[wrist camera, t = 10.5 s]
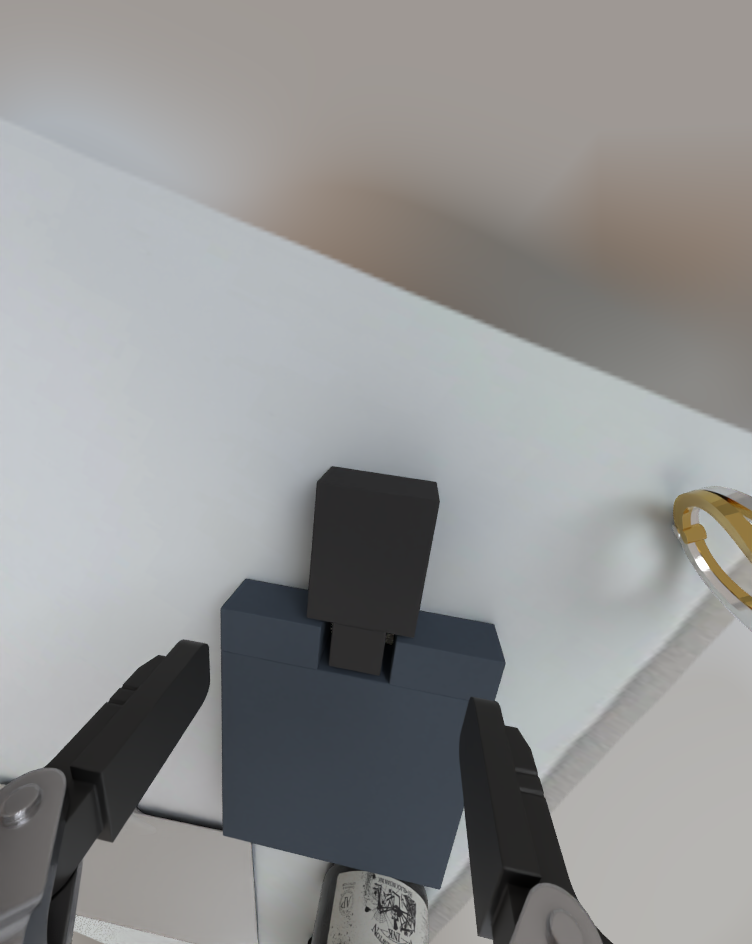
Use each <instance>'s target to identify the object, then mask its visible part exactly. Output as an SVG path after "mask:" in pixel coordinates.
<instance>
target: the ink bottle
mask: <svg viewBox="0 0 752 944" xmlns="http://www.w3.org/2000/svg"><path fill="white" fill-rule="evenodd" d="M311 944H429V934H428V900H427V894H426V891H425V889H424V887H423V885H419V884H415V883H411V882H407V881H403V880H399V879H395V878H391V877H387V876H383V875H379V874H375V873H371V872H367V871H363V870H359V869H355V868H351V867H347V866H343V865H339V864H334V865H333V866H332V867H331V868H330V869H329V870H328V872H327V873H326V875H325V877H324V880H323V884H322V889H321V895H320V900H319V905H318V911H317V916H316V921H315V926H314V932H313V937H312V942H311Z"/></svg>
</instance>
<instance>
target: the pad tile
mask: <svg viewBox="0 0 752 944" xmlns="http://www.w3.org/2000/svg"><path fill="white" fill-rule="evenodd" d="M439 503H440V501H439V494H438V488H437V483H436V482H431V481H425V480H418V479H412V478H405V477H399V476H392V475H386V474H379V473H373V472H366V471H360V470H353V469H346V468H340V467H333V466H332V467H331V468H330V469H329V470H328V471H327V472H326V473H325V474H324V475H323V476H322V477H321V478H320V479H319V481H318V482H317V488H316V501H315V514H314V527H313V540H312V553H311V566H310V579H309V592H308V605H307V618H311V619H317V620H322V621H327V622H332V623H333V627H332V636H331V646H330V655H329V666H333V667H338V668H343V669H348V670H353V671H358V672H363V673H368V674H373V675H378V676H379V675H380V671H381V665H382V659H383V652H384V646H385V640H386V634H387V633H390V634H395V635H401V636H406V637H411V638H414V636H415V630H416V625H417V620H418V614H419V609H420V604H421V598H422V593H423V588H424V583H425V577H426V572H427V567H428V561H429V556H430V551H431V545H432V540H433V535H434V530H435V524H436V519H437V514H438V508H439Z"/></svg>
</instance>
